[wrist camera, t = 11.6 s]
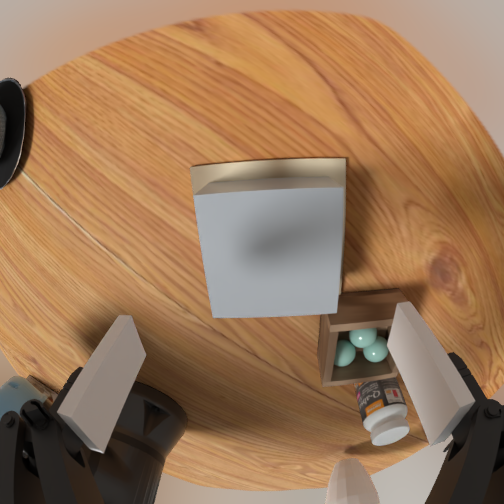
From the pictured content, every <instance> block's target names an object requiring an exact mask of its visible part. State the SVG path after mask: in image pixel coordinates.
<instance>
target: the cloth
mask: <svg viewBox="0 0 504 504" xmlns="http://www.w3.org/2000/svg"><path fill="white" fill-rule="evenodd" d="M190 173H191V182H192V189H193V195H195V194H196V193H197V192H198V191H199V190H201V189H202V188H203V187H204V186H205V185H207V184H208V183H212V182H223V181H235V180H249V179H265V178H285V177H316V176H329V177H330V178H332V179H333V180H334V181H336V182H337V183H338V184H340V185H341V186H342V187H344V195H343V235H342V255H341V271H340V284H339V295H341V285H342V273H343V259H344V241H345V216H346V159H345V158H299V159H274V160H257V161H243V162H230V163H220V164H210V165H201V166H192V167H190ZM194 205H195V204H194ZM195 212H196V211H195ZM196 219H197V218H196ZM197 226H198V225H197ZM198 233H199V232H198ZM200 246H201V245H200ZM203 265H204V264H203ZM204 271H205V270H204ZM205 277H206V276H205ZM208 294H209V293H208Z"/></svg>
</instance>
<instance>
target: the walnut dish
mask: <svg viewBox="0 0 504 504" xmlns="http://www.w3.org/2000/svg"><path fill="white" fill-rule="evenodd" d="M402 302H408V300H407V299H406V298H405V296H404V295H403V293H402V292H401V290H400V289H399V288H395V289H385V290H373V291H361V292H348V293H341V295H338V306H337V313H332V314H321V317H320V330H319V341H318V352H317V357H318V363H319V369H320V375H321V382H322V387H329V386H339V385H347V384H355V383H362V382H369V381H376V380H382V379H387V378H393V377H397V375H398V372H399V370H398V368H397V366H396V364H395V361H394V359H393V357H392V355H391V353H390V351H389V352H388V355H387V356H386V357H385V359H383V360H382V361H380V362H371V361H369V360H367V359H366V358H365V356H364V353H363V348H359V347H356V346H355V345H354V347H355V350H356V355H355V358H354V360H353V361H352V362H351V363H350V364H349V365H347V366H343V367H340V366H336V365H334V359H335V353H336V346H337V340H341V339H345V340H348V341H350V338H349V331H350V330H360V329H369V328H376V329H377V336H382V337H384V338H385V339H386V340H387V342H388V339H389V335H390V332H391V328H392V324H393V319H394V315H395V311H396V306H397V303H402ZM350 342H351V341H350ZM351 343H352V342H351Z"/></svg>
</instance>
